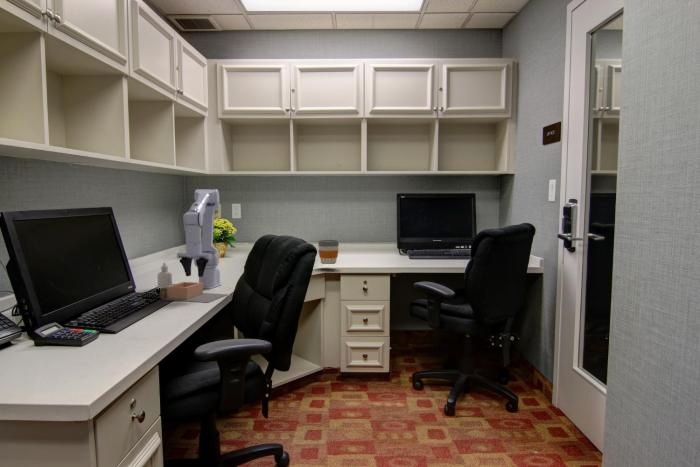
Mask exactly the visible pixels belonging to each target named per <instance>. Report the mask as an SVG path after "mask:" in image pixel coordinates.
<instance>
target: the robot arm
mask: <svg viewBox="0 0 700 467" xmlns="http://www.w3.org/2000/svg"><path fill="white" fill-rule="evenodd" d="M193 198H194V201H195V202H193V203H192V204H191V207H190V208H189V210H188V211H186V213H184V214H183V218H182V220H183V221H182V222H183V228H184V232H185V250H186V251H185V252H177V253H176V259H179V262H180V264H181V266H182V267H183V270H184V274H185V276H186V277H190V276H192V263H193V262H194V266H195V267H197V275H198V276H197V277H198V283H203V290H204V289H207V290H211V289H214V288H218V287H219V286H222V283H221V272H220V271H221V270H220V269H219V268H218V266H219V265H220V255H219V254H220V253H219V252H220V251H219V249H218V248H216V247H215V246H214V225H215V224H214V222H215V221H214V220H215V213H216V211H217V210H218V209H219V208H220V207H219V206H220V192H219V190H218V189H217V188H216V189H208V188H207V189H198V188H196V189H195V190H194V197H193Z"/></svg>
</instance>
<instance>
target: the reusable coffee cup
mask: <svg viewBox="0 0 700 467" xmlns="http://www.w3.org/2000/svg"><path fill="white" fill-rule="evenodd" d="M317 244H318V256H319V258H320V260H319V261H320V264H321V263H322V264H335V263H336V264H337V259H338V255H339V240H336V239H325V240H324V239H322V240H318V243H317Z"/></svg>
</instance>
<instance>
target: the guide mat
mask: <svg viewBox="0 0 700 467" xmlns="http://www.w3.org/2000/svg"><path fill="white" fill-rule="evenodd" d="M228 295H229V294H228V293H227V294H226V293H211V292H203V294H201V295H198V296H195V297H192V298H189V299H174V298H166V299H163V300H166V301H176V302H177V301H178V302H179V301H180V302H190V303H191V302H192V303H202V304H203V303H204V304H205V303H206V304H209V303H211V302H214V301H217V300H218V299H221V298H224V297H226V296H228Z"/></svg>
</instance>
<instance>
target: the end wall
mask: <svg viewBox="0 0 700 467" xmlns="http://www.w3.org/2000/svg"><path fill="white" fill-rule="evenodd" d="M159 294H160V295H159V296H160V297H159V298H161V299H160V300H164V299H166V298H167V287H164V288H160V290H159Z"/></svg>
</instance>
